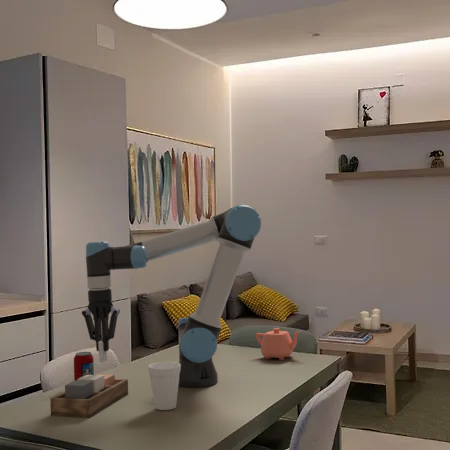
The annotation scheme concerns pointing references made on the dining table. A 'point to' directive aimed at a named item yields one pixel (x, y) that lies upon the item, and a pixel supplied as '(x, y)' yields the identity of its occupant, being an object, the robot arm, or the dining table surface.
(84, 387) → the grey square block
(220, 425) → the dining table surface
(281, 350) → the teapot
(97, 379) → the white square block
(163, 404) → the cup
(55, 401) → the wooden tray
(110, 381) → the salmon pink square block
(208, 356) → the robot arm
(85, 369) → the beverage can
